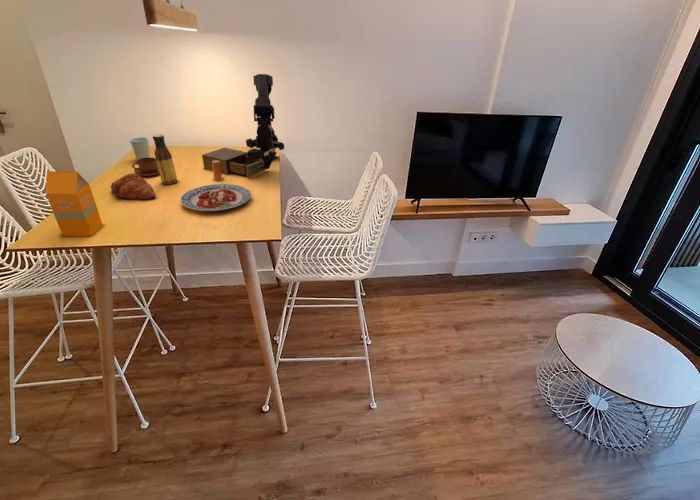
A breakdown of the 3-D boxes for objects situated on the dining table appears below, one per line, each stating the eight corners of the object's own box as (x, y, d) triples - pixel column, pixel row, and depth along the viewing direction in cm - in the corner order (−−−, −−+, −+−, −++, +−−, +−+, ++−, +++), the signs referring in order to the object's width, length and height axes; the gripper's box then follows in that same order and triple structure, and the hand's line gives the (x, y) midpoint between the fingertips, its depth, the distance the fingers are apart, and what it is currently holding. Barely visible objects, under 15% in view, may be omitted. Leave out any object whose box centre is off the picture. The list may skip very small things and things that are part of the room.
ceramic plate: (179, 193, 153) (178, 186, 152) (244, 185, 162) (244, 179, 161) (183, 220, 133) (181, 212, 132) (257, 210, 142) (256, 202, 141)
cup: (155, 158, 189) (150, 137, 184) (149, 163, 182) (143, 141, 177) (139, 158, 189) (134, 137, 183) (132, 163, 182) (126, 141, 177)
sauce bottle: (180, 180, 165) (171, 133, 155) (173, 185, 160) (163, 137, 150) (165, 179, 166) (155, 133, 156) (158, 184, 160) (147, 136, 150)
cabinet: (249, 165, 185) (247, 152, 181) (227, 174, 174) (225, 160, 170) (226, 160, 190) (224, 147, 187) (204, 168, 179) (201, 154, 176)
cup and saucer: (139, 180, 164) (136, 166, 161) (131, 172, 172) (128, 158, 168) (168, 174, 171) (165, 161, 168) (159, 167, 179) (156, 154, 175)
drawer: (276, 170, 178) (275, 160, 175) (257, 179, 167) (256, 168, 165) (245, 163, 185) (244, 154, 182) (225, 171, 174) (224, 161, 172)
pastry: (159, 185, 160) (155, 166, 156) (155, 199, 147) (150, 179, 143) (114, 188, 155) (108, 169, 151) (106, 203, 142) (99, 183, 138)
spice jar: (212, 179, 168) (209, 161, 163) (218, 177, 170) (215, 159, 166) (218, 181, 166) (215, 163, 162) (224, 178, 169) (221, 161, 165)
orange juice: (91, 236, 121) (70, 176, 111) (62, 236, 121) (38, 175, 110) (103, 224, 128) (84, 167, 118) (75, 225, 127) (53, 167, 117)
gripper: (263, 126, 173) (266, 160, 181) (235, 135, 158) (239, 171, 166) (284, 129, 169) (285, 164, 177) (256, 139, 154) (260, 176, 162)
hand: (267, 168), depth 171 cm, fingers closed, pressing on drawer
